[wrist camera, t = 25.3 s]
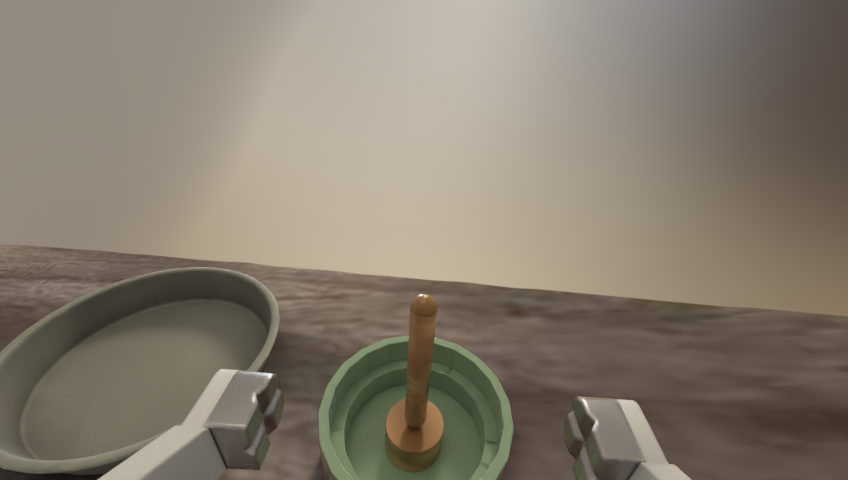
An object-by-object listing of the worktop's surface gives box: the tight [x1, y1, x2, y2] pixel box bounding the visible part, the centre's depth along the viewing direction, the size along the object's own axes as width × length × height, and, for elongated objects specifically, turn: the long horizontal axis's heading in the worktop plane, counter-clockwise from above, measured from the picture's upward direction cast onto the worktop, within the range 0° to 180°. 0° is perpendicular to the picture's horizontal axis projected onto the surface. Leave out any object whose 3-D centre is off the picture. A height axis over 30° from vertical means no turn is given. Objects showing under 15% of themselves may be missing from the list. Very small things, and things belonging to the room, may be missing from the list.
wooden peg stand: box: [385, 294, 444, 472], centre depth 28 cm, size 5×5×17 cm
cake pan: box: [0, 267, 279, 475], centre depth 37 cm, size 25×25×4 cm
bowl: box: [318, 335, 514, 480], centre depth 32 cm, size 16×16×6 cm
